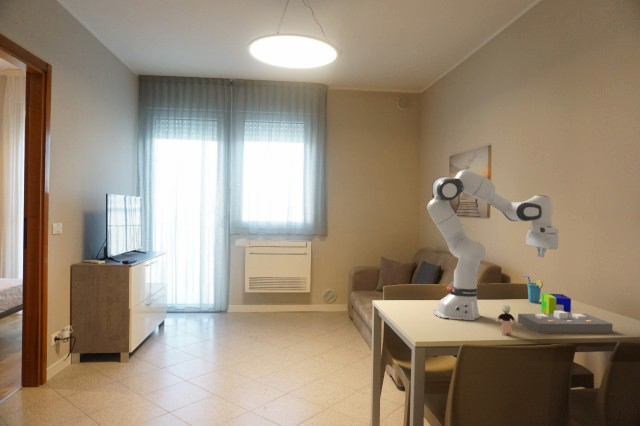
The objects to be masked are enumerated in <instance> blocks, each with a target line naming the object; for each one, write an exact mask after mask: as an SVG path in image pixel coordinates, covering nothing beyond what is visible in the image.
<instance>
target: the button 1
mask: <svg viewBox="0 0 640 426" xmlns="http://www.w3.org/2000/svg"><path fill="white" fill-rule="evenodd" d="M534 314H535V317H537V318H540V319H549V316H547V315H545V314H544V313H534Z"/></svg>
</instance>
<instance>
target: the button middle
mask: <svg viewBox="0 0 640 426" xmlns="http://www.w3.org/2000/svg"><path fill="white" fill-rule="evenodd" d="M554 317H556V318H558V319H568V313H567V312H564V311H554Z"/></svg>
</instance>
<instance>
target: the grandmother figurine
mask: <svg viewBox="0 0 640 426" xmlns="http://www.w3.org/2000/svg"><path fill="white" fill-rule="evenodd" d="M501 310H502V311H503V313H501V314H499V315H498V317H497V319H496V321H495V322H497V323H499V322H500V320H501V333H500V334H501V335H502V334H503V335H502V336H509V335H512V336H513V333H512V322H513V324H514V325H515V324H517V322H516V319H515V317H514V316H513V315H512V314H511V313H510V312H511V307H510V306H509V305H507V304H505V305H503V306H502V307H501ZM511 321H512V322H511ZM507 334H508V335H507Z"/></svg>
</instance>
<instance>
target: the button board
mask: <svg viewBox="0 0 640 426" xmlns="http://www.w3.org/2000/svg"><path fill="white" fill-rule="evenodd" d="M535 314H536V313H517V323H519V324H521V325H522V326H525V327H527V329H528V328H529V329H530V330H532V331H533V332H536V333H538V334H571V333H572V334H585V333H586V334H601V333H602V334H611V333H613V327H614V326H613V323H611V322H609V321H606V320H604V319H601V318H598V317H596V316H593V315H592V314H591V315H590V314H587V313H581V314H582V315H584V316H586V319H577V318H575V317H572V314H573V313H571V314H568V319H558V318H556V317H554V314H545V315H547V316H549V319H540V318H537V317H535Z"/></svg>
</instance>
